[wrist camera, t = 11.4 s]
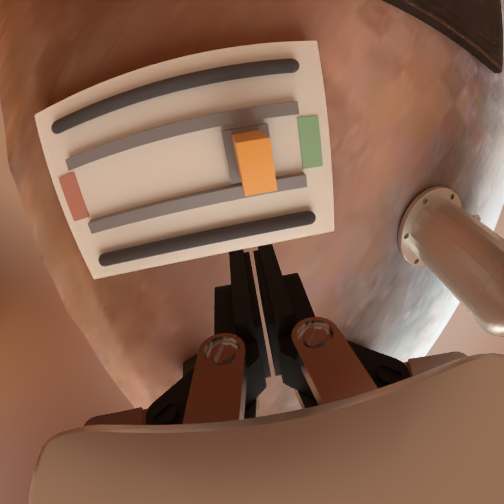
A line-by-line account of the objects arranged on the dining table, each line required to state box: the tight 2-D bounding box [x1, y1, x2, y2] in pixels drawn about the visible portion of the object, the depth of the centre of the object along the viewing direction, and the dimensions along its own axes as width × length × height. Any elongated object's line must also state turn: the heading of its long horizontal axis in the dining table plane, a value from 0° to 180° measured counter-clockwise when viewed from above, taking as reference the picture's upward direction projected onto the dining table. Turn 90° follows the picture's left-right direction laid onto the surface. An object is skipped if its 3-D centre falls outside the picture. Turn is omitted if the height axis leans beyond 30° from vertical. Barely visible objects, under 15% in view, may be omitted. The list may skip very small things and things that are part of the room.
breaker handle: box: [221, 123, 278, 196], centre depth 22 cm, size 4×5×6 cm
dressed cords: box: [51, 58, 316, 267], centre depth 24 cm, size 23×16×1 cm
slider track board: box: [34, 41, 334, 279], centre depth 26 cm, size 28×20×4 cm
